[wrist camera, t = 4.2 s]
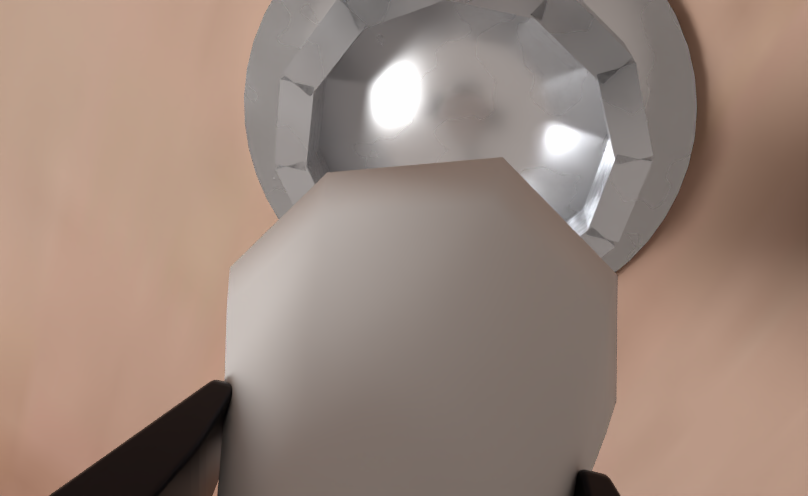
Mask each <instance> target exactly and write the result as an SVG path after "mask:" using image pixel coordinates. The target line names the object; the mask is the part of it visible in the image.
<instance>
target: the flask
mask: <svg viewBox="0 0 808 496" xmlns="http://www.w3.org/2000/svg"><path fill="white" fill-rule="evenodd" d="M617 285H618V275H617V274H616V273H615V272H614V271H613V270H612V269H611V268H610V267H609V266H608V265H607V264H606V263H605V262H604V261H603V260H602V259H601V257H600V256H599V255H598V254H597V253H596V252H595V251H594V250H593V249H592V248H591V247H590V246H589V245H588V244H587V243H586V242H585V241H584V240H583V239H582V238H581V237H580V236H579V235H578V234H577V233H576V232H575V231H574V230H573V229H572V228H571V227H570V226H569V225H568V224H567V223H566V222H565V220H564V219H563V218H562V217H561V216H560V215H559V214H558V213H557V212H556V211H555V210H554V209H553V208H552V207H551V206H550V205H549V204H548V203H547V202H546V201H545V200H544V199H543V198H542V197H541V196H540V195H539V194H538V193H537V192H536V191H535V190H534V189H533V188H532V187H531V186H530V185H529V183H528V182H527V181H526V180H525V179H524V178H523V177H522V176H521V175H520V174H519V173H518V172H517V171H516V170H515V169H514V168H513V167H512V166H511V165H510V164H509V163H508V162H507V161H506V160H505V159H504V158H503V157H498V158H487V159H475V160H464V161H452V162H441V163H430V164H418V165H407V166H395V167H384V168H373V169H361V170H350V171H338V172H327V173H326V174H325V175H324V176H323V177H322V178H321V179H320V180H319V181H318V182H317V183H316V184H315V185H314V186H313V187H312V188H311V189H310V190H309V191H308V192H307V193H306V194H305V195H304V196H303V197H302V198H301V199H300V200H298V201H297V202H296V203H295V204H294V205H293V206H292V207H291V208H290V209H289V210H288V211H287V212H286V213H285V214H284V215H283V216H282V217H281V218H280V219H279V220H278V221H277V222H276V223H275V224H274V225H273V226H272V227H271V228H270V229H269V230H268V231H267V232H266V233H265V234H264V235H263V236H262V237H261V238H260V239H259V240H258V241H257V242H256V243H255V244H253V245H252V246H251V247H250V248H249V249H248V250H247V251H246V252H245V253H244V254H243V255H242V256H241V257H240V258H239V259H238V260H237V261H236V262H235V263H234V264H233V265H232V266H231V267H230V274H229V286H228V299H227V323H226V355H225V382H228V383H230V384H231V386H232V398H231V401H230V404H229V407H228V410H227V413H226V416H225V419H224V421H223V432H222V445H221V458H220V470H219V483H218V496H574V492H575V486H576V480H577V474H578V472H579V471H580V470H582V469H585V470H589V471H592V469H593V467H594V464H595V461H596V459H597V456H598V453H599V451H600V448H601V445H602V443H603V440H604V437H605V435H606V432H607V429H608V425H609V422H610V419H611V416H612V413H613V410H614V407H615V404H616V378H617Z"/></svg>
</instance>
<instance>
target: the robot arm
mask: <svg viewBox="0 0 808 496" xmlns="http://www.w3.org/2000/svg"><path fill="white" fill-rule="evenodd" d="M231 398H232V386H231V384H230V383H228V382H224V381H220V380H213V381H211V382H209V383H208V384H206V385H205V386H203V387H202V388H200V389H199V390H198V391H196V392H195V393H193V394H192V395H191V396H189V397H188V398H186V399H185V400H184V401H182V402H181V403H179V404H178V405H176V406H175V407H174V408H172V409H171V410H169V411H168V412H167V413H165V414H164V415H162V416H161V417H159V418H158V419H157V420H155V421H154V422H152V423H151V424H150V425H148V426H147V427H145V428H144V429H143V430H141V431H140V432H138V433H137V434H135V435H134V436H133V437H131V438H130V439H128V440H127V441H126V442H124V443H123V444H121V445H120V446H118V447H117V448H116V449H114V450H113V451H111V452H110V453H109V454H107V455H106V456H104V457H103V458H102V459H100V460H99V461H97V462H96V463H94V464H93V465H92V466H90V467H89V468H87V469H86V470H85V471H83V472H82V473H80V474H79V475H77V476H76V477H75V478H73V479H72V480H70V481H69V482H68V483H66V484H65V485H63V486H62V487H61V488H59V489H58V490H56V491H55V492H53V493H52V494H51V495H49V496H212V495H213V492H214V490H215V487H216V485H217V482H218V480H219V470H220V458H221V445H222V432H223V421H224V419H225V416H226V413H227V410H228V407H229V404H230V401H231ZM574 496H620V494H619V492H618V491H617V489H616V488H615V486H614V484H613V483H612V481H611V480H610V478H609V477H608V476H606V475H605V474H602V473H598V472H593V471H589V470H585V469H582V470H580V471H579V472H578V474H577V480H576V486H575V492H574Z"/></svg>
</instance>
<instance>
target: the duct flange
mask: <svg viewBox="0 0 808 496" xmlns="http://www.w3.org/2000/svg"><path fill="white" fill-rule="evenodd" d="M244 107H245V127H246V133H247V139H248V146H249V151H250V154H251V158H252V161H253V165H254V168H255V171H256V175H257V177H258V179H259V182H260V184H261V186H262V189H263V191H264V193H265V196H266V198H267V200H268V202H269V203H270V205H271V207H272V208H273V210H274V212H275V214H276V215H277V217H278V219H280V218H281V217H282V216H283V215H284V214H285V213H286V212H287V211H288V210H289V209H290V208H291V207H292V206H293V205H294V204H295V203H296V202H297V201H298V200H300V199H301V198H302V197H303V196H304V195H305V194H306V193H307V192H308V191H309V190H310V189H311V188H312V187H313V186H314V185H315V184H316V183H317V182H318V181H319V180H320V179H321V178H322V177H323V176H324V175H325V174H326V173H327V172H338V171H350V170H361V169H373V168H384V167H395V166H407V165H418V164H430V163H441V162H452V161H464V160H475V159H487V158H498V157H503V158H504V159H505V160H506V161H507V162H508V163H509V164H510V165H511V166H512V167H513V168H514V169H515V170H516V171H517V172H518V173H519V174H520V175H521V176H522V177H523V178H524V179H525V180H526V181H527V182H528V183H529V185H530V186H531V187H532V188H533V189H534V190H535V191H536V192H537V193H538V194H539V195H540V196H541V197H542V198H543V199H544V200H545V201H546V202H547V203H548V204H549V205H550V206H551V207H552V208H553V209H554V210H555V211H556V212H557V213H558V214H559V215H560V216H561V217H562V218H563V219H564V220H565V222H566V223H567V224H568V225H569V226H570V227H571V228H572V229H573V230H574V231H575V232H576V233H577V234H578V235H579V236H580V237H581V238H582V239H583V240H584V241H585V242H586V243H587V244H588V245H589V246H590V247H591V248H592V249H593V250H594V251H595V252H596V253H597V254H598V255H599V256H600V257H601V259H602V260H603V261H604V262H605V263H606V264H607V265H608V266H609V267H610V268H611V269H612V270H613V271H614V272H616V271H618V270H619V269H620V268H621V267H622V266H624V265H625V264H626V263H627V262H628V261H630V260H631V259H632V258H633V256H634V255H635V254H636V253H637V252H638V251H639V250H640V249H641V248H642V247H643V246H644V245H645V244H646V243H647V242H648V240H649V239H650V238H651V236H652V235H653V234H654V232H655V231H656V229H657V228H658V227H659V225H660V224H661V223H662V221H663V220H664V218H665V217H666V215H667V213H668V211H669V209H670V207H671V206H672V204H673V202H674V200H675V198H676V196H677V195H678V192H679V190H680V187H681V184H682V182H683V179H684V176H685V174H686V171H687V169H688V165H689V161H690V157H691V152H692V148H693V143H694V139H695V128H696V115H697V100H696V85H695V75H694V71H693V66H692V62H691V57H690V53H689V48H688V45H687V42H686V40H685V37H684V35H683V32H682V29H681V27H680V24H679V22H678V19H677V17H676V15H675V13H674V11H673V10H672V8H671V6H670V4H669V3H668V1H667V0H272V2H271V4H270V5H269V7H268V9H267V11H266V12H265V14H264V17H263V19H262V22H261V24H260V27H259V29H258V32H257V34H256V37H255V39H254V42H253V47H252V51H251V55H250V59H249V63H248V67H247V74H246V84H245V93H244Z"/></svg>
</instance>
